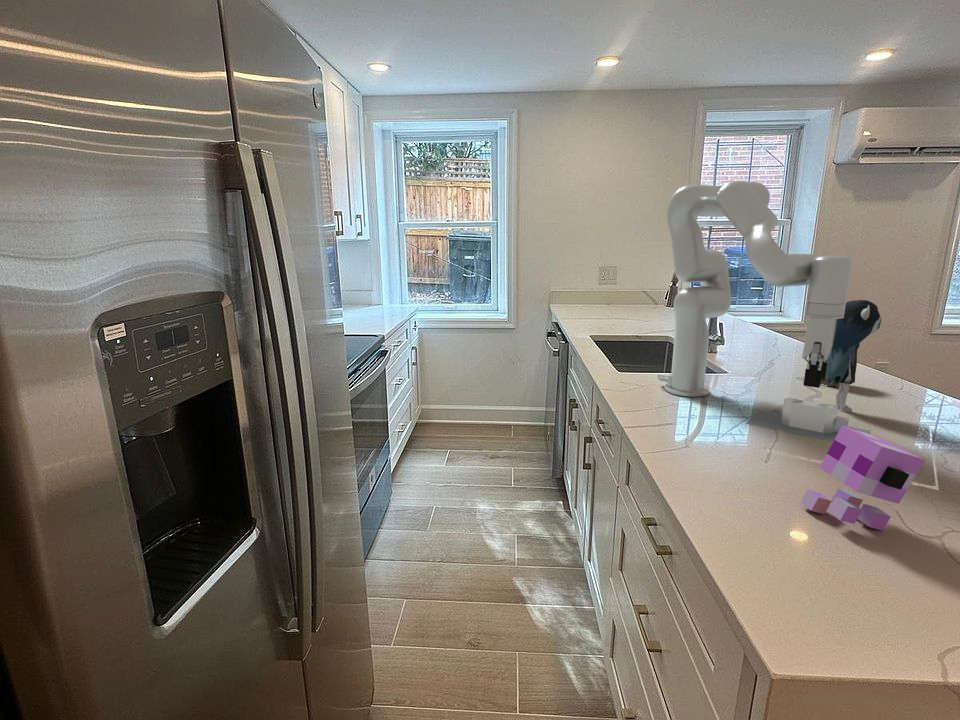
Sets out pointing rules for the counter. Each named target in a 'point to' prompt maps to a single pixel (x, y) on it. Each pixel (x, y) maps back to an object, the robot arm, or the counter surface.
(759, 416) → the mat
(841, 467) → the toy
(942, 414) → the counter surface
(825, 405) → the plug
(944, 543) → the counter surface
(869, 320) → the toy
